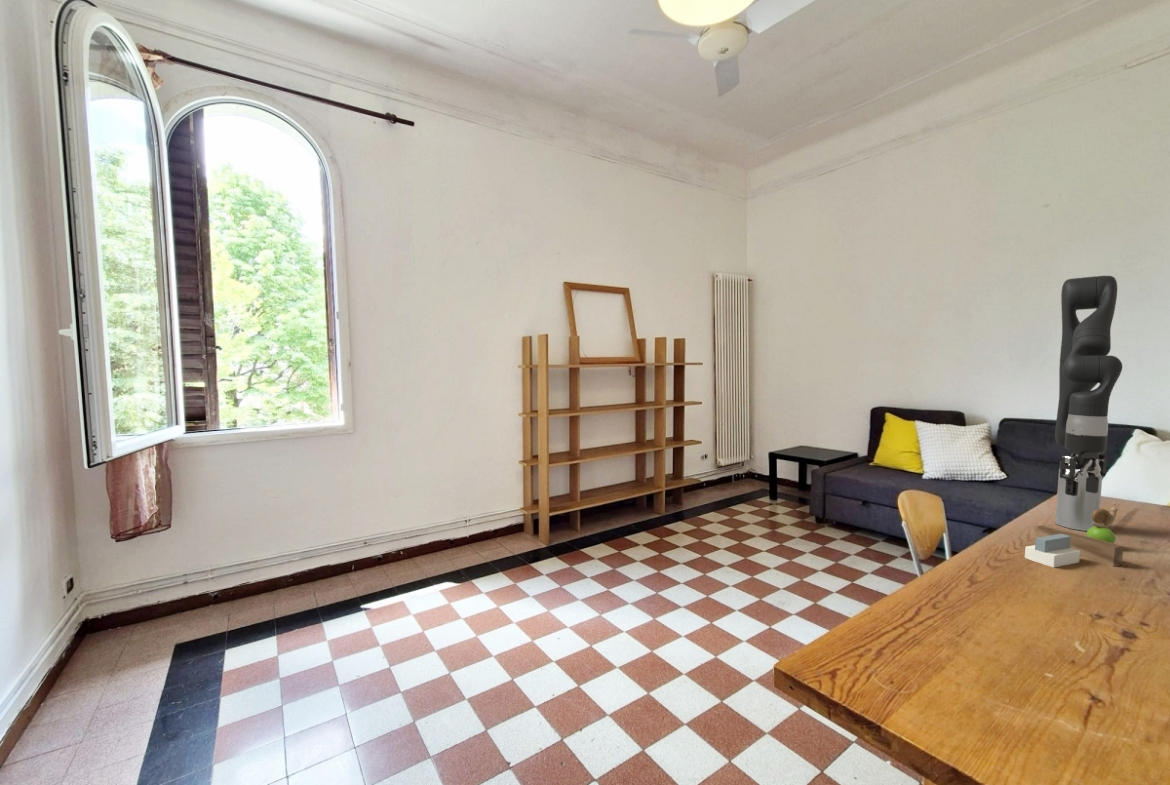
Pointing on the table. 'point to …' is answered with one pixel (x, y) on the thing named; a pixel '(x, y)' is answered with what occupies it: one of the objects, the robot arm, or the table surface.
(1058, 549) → the white grey stepped block
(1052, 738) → the table surface
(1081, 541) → the walnut bar
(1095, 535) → the snail figurine
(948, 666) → the table surface
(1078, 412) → the robot arm
